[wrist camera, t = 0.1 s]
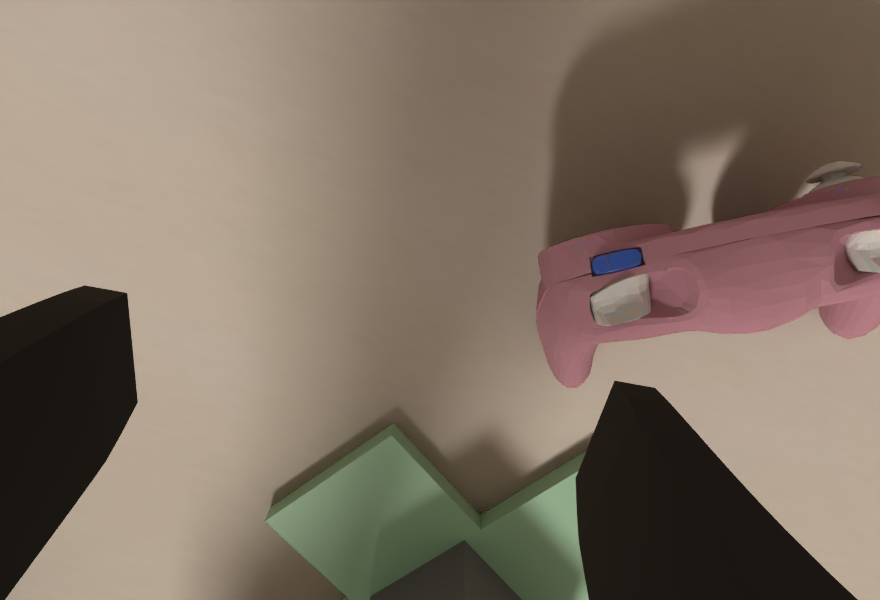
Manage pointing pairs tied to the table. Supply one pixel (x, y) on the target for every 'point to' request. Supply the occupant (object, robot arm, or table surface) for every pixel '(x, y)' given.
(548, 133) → the table surface
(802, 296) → the video game controller
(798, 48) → the table surface
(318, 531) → the board
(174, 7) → the table surface
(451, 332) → the table surface
